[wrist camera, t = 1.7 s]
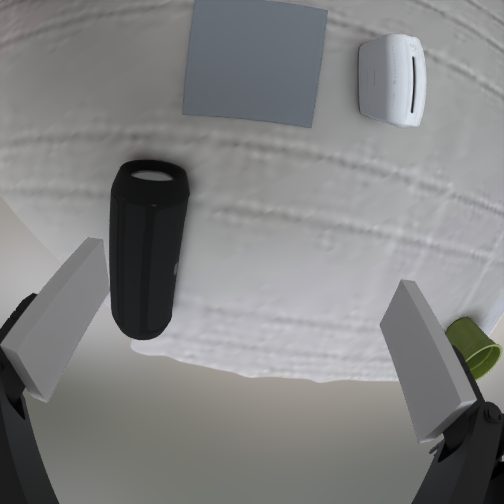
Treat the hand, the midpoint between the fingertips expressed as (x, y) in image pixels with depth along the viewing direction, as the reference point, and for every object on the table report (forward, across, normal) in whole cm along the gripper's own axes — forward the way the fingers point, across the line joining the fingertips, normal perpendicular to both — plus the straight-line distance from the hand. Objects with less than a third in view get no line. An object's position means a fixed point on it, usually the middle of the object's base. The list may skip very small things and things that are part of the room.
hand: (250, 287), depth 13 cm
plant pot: (+29, +48, -27) cm, 62 cm away
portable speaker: (+29, -14, -16) cm, 36 cm away
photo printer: (+29, +13, +12) cm, 34 cm away
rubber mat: (+29, -2, +12) cm, 31 cm away
